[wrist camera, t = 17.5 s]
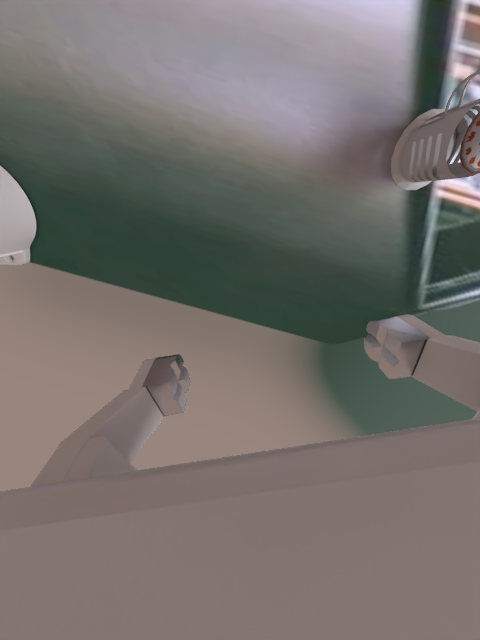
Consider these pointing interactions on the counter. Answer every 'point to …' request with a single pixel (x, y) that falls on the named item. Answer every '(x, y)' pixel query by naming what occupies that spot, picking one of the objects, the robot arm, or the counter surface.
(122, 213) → the counter surface
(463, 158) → the french press
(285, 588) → the robot arm
